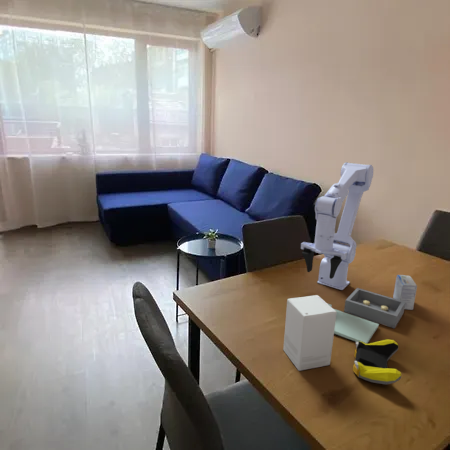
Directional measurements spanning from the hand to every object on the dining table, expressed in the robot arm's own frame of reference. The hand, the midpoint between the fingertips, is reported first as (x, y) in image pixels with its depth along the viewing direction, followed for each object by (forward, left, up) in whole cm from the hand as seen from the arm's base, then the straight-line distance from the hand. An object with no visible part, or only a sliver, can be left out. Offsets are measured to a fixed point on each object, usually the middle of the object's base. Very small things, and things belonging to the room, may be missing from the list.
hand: (320, 274), depth 119 cm
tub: (+17, +4, -9) cm, 20 cm away
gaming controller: (+25, -24, -10) cm, 36 cm away
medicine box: (+23, +16, -10) cm, 29 cm away
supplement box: (+10, -30, -10) cm, 33 cm away
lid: (+13, -10, -10) cm, 19 cm away
